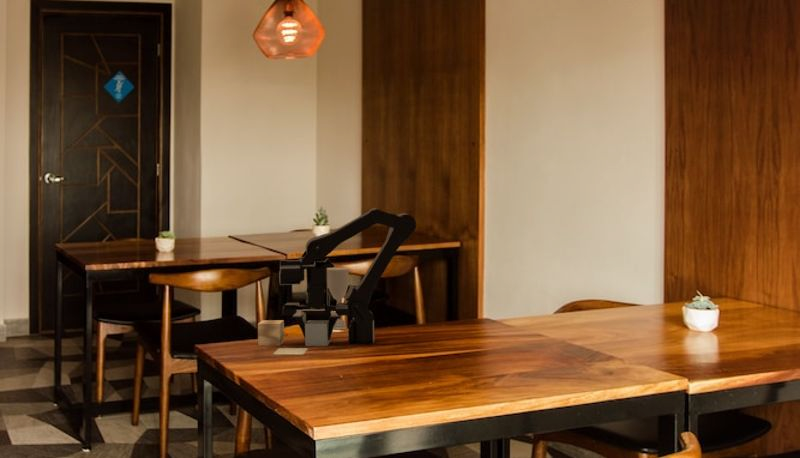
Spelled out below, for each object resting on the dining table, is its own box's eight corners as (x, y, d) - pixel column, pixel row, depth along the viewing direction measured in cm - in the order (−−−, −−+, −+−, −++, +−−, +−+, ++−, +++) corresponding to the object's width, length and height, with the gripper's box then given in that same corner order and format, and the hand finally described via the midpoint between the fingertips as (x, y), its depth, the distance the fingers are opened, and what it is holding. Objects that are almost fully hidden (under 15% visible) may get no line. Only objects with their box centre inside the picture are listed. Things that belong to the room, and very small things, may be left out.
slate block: (330, 341, 281) (330, 320, 280) (327, 345, 275) (326, 324, 274) (309, 341, 281) (308, 320, 281) (305, 345, 275) (304, 324, 275)
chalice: (352, 326, 308) (351, 267, 306) (349, 330, 301) (348, 270, 300) (328, 326, 308) (327, 267, 307) (324, 329, 302) (323, 270, 300)
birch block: (284, 341, 282) (283, 320, 281) (280, 345, 276) (279, 323, 275) (263, 341, 282) (262, 320, 282) (258, 345, 276) (257, 323, 276)
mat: (308, 349, 271) (308, 348, 271) (303, 355, 263) (303, 354, 263) (278, 349, 272) (278, 348, 272) (272, 355, 264) (272, 353, 264)
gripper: (354, 280, 284) (355, 335, 285) (288, 280, 286) (289, 334, 287) (349, 285, 273) (350, 342, 274) (281, 285, 274) (282, 342, 276)
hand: (317, 340), depth 278 cm, fingers closed on slate block, 6 cm apart
